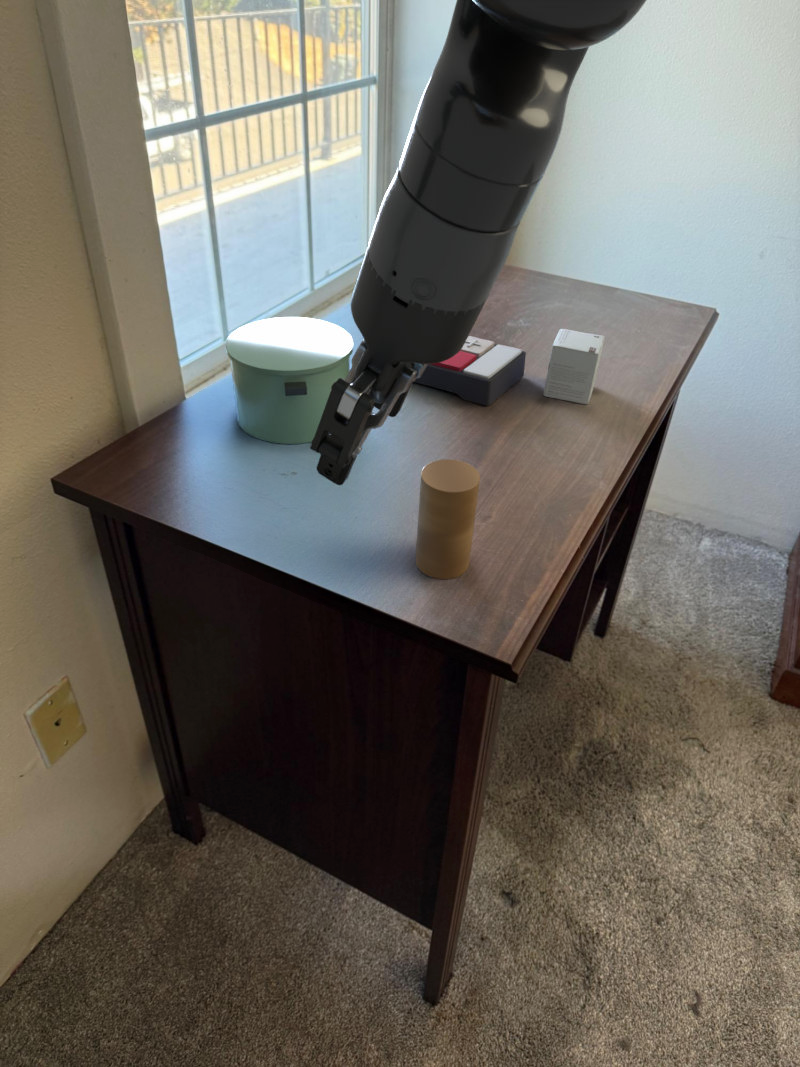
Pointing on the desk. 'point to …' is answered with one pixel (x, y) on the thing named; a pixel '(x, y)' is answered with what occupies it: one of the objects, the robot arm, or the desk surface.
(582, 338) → the white cardboard box
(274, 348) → the pot
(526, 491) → the desk surface
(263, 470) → the desk surface
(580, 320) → the desk surface
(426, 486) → the tall wooden cylinder
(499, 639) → the desk surface
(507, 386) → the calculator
